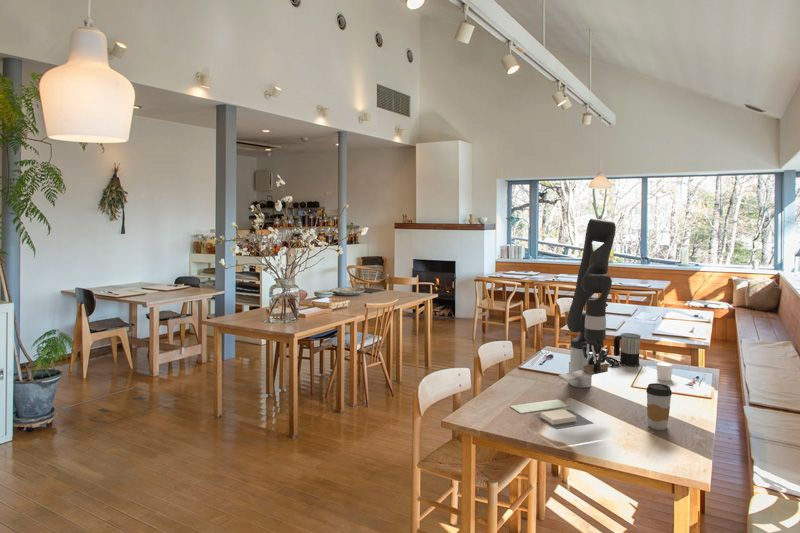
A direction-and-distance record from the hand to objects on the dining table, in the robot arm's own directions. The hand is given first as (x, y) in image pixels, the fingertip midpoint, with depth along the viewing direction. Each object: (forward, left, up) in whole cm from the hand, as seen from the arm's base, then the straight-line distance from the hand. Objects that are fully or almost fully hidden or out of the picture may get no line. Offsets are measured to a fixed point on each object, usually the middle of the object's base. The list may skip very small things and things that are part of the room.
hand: (593, 371), depth 218 cm
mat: (+1, -14, -17) cm, 22 cm away
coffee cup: (+18, +14, -17) cm, 29 cm away
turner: (0, -4, -1) cm, 4 cm away
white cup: (-26, +59, -17) cm, 66 cm away
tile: (+1, -11, -15) cm, 19 cm away
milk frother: (-51, +57, -17) cm, 79 cm away
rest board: (-13, -15, -17) cm, 26 cm away
